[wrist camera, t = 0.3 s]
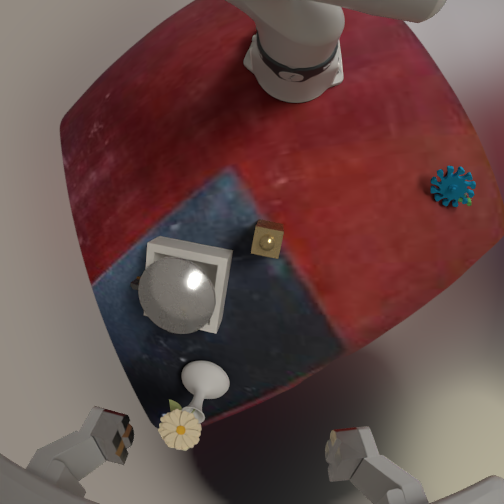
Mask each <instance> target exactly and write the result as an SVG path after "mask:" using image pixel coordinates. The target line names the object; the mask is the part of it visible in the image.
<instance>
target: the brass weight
mask: <svg viewBox="0 0 504 504" xmlns="http://www.w3.org/2000/svg"><path fill="white" fill-rule="evenodd" d="M283 233H284V229H283V224H281V223H275V222H270V221H265V220H260V219H259V220H258V222H257V225H256V227H255V233H254V238H253V244H252V249H251V254H257V255H262V256H267V257H272V258H277V259H278V257H279V253H280V248H281V243H282V238H283Z"/></svg>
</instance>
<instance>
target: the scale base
mask: <svg viewBox="0 0 504 504" xmlns="http://www.w3.org/2000/svg"><path fill="white" fill-rule="evenodd" d="M232 254H233V250H228V249H223V248H218V247H213V246H208V245H203V244H198V243H193V242H188V241H183V240H177V239H172V238H167V237H162V236H159V237H157V238H155V239H153V240H151V241H149V242H148V243H147V256H146V268H147V267H148V266H150V265H151V264H152V263H154V262H155V261H157V260H159V259H162V258H166V257H179V258H183V259H186V260H189V261H191V262H193V263H194V264H196V265H197V266H199V267H200V268H201V269H202V270H203V271H204V272H205V273H206V274H207V276H208V277H209V279H210V280H211V282H212V284H213V287H214V290H215V295H216V305H215V309H214V312H213V315H212V317H211V318H210V320H209V321H208V323H207V324H206V325H205V326H204V327H202V328H201V329H199V330H203V331H207V332H211V333H217V331H218V328H219V326H220V323H221V321H222V316H223V309H224V303H225V297H226V290H227V284H228V278H229V272H230V266H231V260H232ZM144 316H147V314H146V313H145V311H144Z"/></svg>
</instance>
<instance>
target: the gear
mask: <svg viewBox="0 0 504 504" xmlns="http://www.w3.org/2000/svg"><path fill="white" fill-rule="evenodd" d="M447 170H448V174H447V176H446V177H443V175H444V174H443V170H442V169H440V170H438V171H437V175H438V176H439V177H440V178H441V180H442V181H441V182H438V181H437V179H436V177H432V179H431V183H432V184H434V185H437V186H438V187H439V188H438V189H437V188H436V187H435V186H431V188H430V189H431V193H441V195H439V194H435V195H434V196H435V200H436V201H439V200H441V199H443V198H447V199H443V200H442V204H443V205H444V206H448V203H449V202H450V201H451V200H453V199H455V200H454V201H452V205H453V206H454V207H458V201H459V202H462V203H463V204H466V203H467V205H468V206H471V199H470V198H472V197H473V196H474V191H472V190H469V189H468V188H467V186H470V187H471V188H472V189H475V187H476V184H475V182H474V181H471V182H467V181H464V180H466V179H467V180H472V175H471V173H470V172H468V173H467V174H466V175H464V176H459V175H461V174H464V173H465V171H464V169H463V168H462V167H458V170H457V172H456V173H455V174H453V172H454V169H453V166H447ZM467 193H468V195H469V197H470V198H467Z"/></svg>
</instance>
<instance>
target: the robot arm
mask: <svg viewBox="0 0 504 504" xmlns="http://www.w3.org/2000/svg"><path fill="white" fill-rule="evenodd" d="M225 1H227V2H229V3H231V4H232V5H234V6H236V7H237V8H239V9H240V10H242V11H243V12H244V13H246V14H247V15H248V16H249V17H251V18H252V19H253V20H254V21H255V24H256V29H257V33H256V35H253V37H252V43H251V45H250V48H249V50H248V52H247V54H246V56H245V58H244V61H243V62H244V66H245V67H246V68H247V69H248V70H250V71H251V72H252V73H253V74H254V75H255V77H256V78H257V80H258V82H259V84H260V85H261V87H262V88H263V89H264V90H265V91H266V92H267V93H268V94H270V95H271V96H273V97H275V98H277V99H279V100H282V101H285V102H291V103H301V102H307V101H310V100H313V99H315V98H317V97H318V96H320V95H321V94H322V93H323V92H324V91H325V90H327V89H328V88H329V87H333V86H336V85H338V84H340V83H342V81H343V68H342V59H341V50H340V42H339V38H340V36H341V33H342V31H343V28H344V23H345V20H344V14H343V11H342V9H341V7H343V8H347V9H351V10H355V11H359V12H362V13H366V14H369V15H374V16H380V17H386V18H392V19H398V20H404V21H409V22H415V23H420V22H423V21H425V20H427V19H429V18H431V17H433V16H434V15H435V14H437V13H438V12H439V11H440V9H441V8H442V7H443V6H444V4H445V3H446V0H225ZM337 72H338V74H337ZM129 421H130V419H129V416H128V415H125V414H122V413H118V412H115V411H111V410H107V409H104V408H100V407H97V406H95V407H93V408H92V410H91V411H90V413H89V415H88V417H87V418H86V420H85V422H84V424H83V425H82V427H81V429H80V431H79V432H78V431H75V432H73V433H71V434H69V435H67V436H65V437H63V438H61V439H59V440H57V441H55V442H52V443H50V444H48V445H46V446H44V447H42V448H40V449H38V450H37V451H36V453H35V454H34V456H33V458H32V459H31V461H30V463H29V464H28V466H27V468H26V469H24V468H22V467H20V466H19V465H17V464H16V463H14V462H12V461H11V460H9V459H8V458H6V457H5V456H3V455H2V454H0V504H99V503H96V502H93V501H90V500H88V499H85V498H84V495H85V493H86V491H85V489H84V488H83V487H82V485H81V484H80V483H79V482H78V481H80V480H81V479H82V478H84V477H85V476H87V475H88V474H89V473H91V472H92V471H93V470H95V469H96V468H98V467H99V466H100V465H102V464H103V463H104V462H106V460H108V461H111V462H114V463H118V464H122V465H124V464H125V461H126V458H127V456H128V451H127V448H129V447H130V446H131V445H132V443H133V439H134V430H133V427H132V426H131V425H130V424H129ZM330 437H331V439H330V440H328V441H327V444H326V448H325V457H326V461H327V462H328V463H329V464H330V466H329V468H328V473H329V478H330V482H332V481H341V480H350V481H351V482H352V483H353V484H354V485H355V486H356V487H357V488H358V489H359V490H360V491H361V492H362V493H363V494H364V495H365V496H366V497H367V498H368V499H369V500H370V501H371V502H372V503H373V504H504V479H503V478H501V477H498V476H496V475H492V476H489V477H487V478H485V479H483V480H481V481H479V482H477V483H475V484H473V485H471V486H469V487H467V488H465V489H463V490H461V491H458V492H456V493H454V494H451V495H449V496H447V497H445V498H442V499H439V500H437V501H435V502H432V503H428V500H427V497H426V495H425V492H424V490H423V487H422V484H421V482H420V481H419V480H418V479H416V478H415V477H413V476H412V475H410V474H409V473H408V472H406V471H405V470H403V469H402V468H400V467H399V466H398V465H396V464H395V463H393V462H392V461H390V460H389V459H388V458H386V457H385V456H384V455H379V452H378V450H377V447H376V444H375V441H374V438H373V436H372V433H371V430H370V428H369V427H368V426H365V427H358V428H346V429H337V430H332V432H331V434H330Z"/></svg>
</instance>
